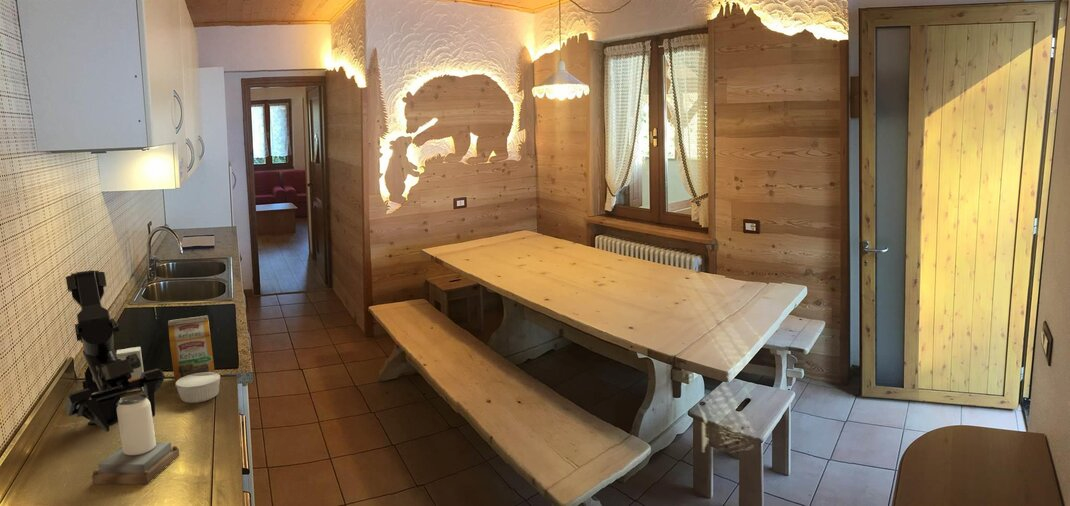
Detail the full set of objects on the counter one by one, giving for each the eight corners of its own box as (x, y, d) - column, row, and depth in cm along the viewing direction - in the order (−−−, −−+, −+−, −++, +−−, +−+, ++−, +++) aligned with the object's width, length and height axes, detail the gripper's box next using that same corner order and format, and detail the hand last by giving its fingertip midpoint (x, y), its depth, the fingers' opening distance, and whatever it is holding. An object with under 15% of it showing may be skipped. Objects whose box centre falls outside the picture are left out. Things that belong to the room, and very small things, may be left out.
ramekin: (224, 386, 196) (222, 369, 195) (219, 401, 185) (217, 383, 184) (181, 392, 192) (179, 374, 191) (174, 407, 182) (172, 389, 181)
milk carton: (214, 370, 209) (207, 311, 205) (215, 381, 199) (208, 320, 196) (176, 376, 204) (168, 316, 200) (175, 388, 195) (167, 325, 191)
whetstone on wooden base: (93, 483, 143) (90, 466, 143) (128, 456, 155) (126, 440, 154) (147, 484, 143) (145, 466, 142) (179, 456, 155) (177, 440, 154)
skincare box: (120, 394, 191) (115, 354, 189) (122, 388, 195) (116, 349, 193) (145, 389, 194) (139, 350, 192) (146, 384, 198) (140, 346, 195)
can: (140, 458, 146) (133, 406, 144) (115, 455, 147) (108, 404, 145) (163, 444, 152) (156, 394, 150) (139, 441, 154) (132, 392, 151)
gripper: (61, 357, 140) (89, 421, 135) (156, 334, 154) (184, 391, 149) (54, 384, 146) (80, 446, 141) (145, 360, 160) (172, 415, 156)
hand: (131, 423), depth 147 cm, fingers open, 9 cm apart
